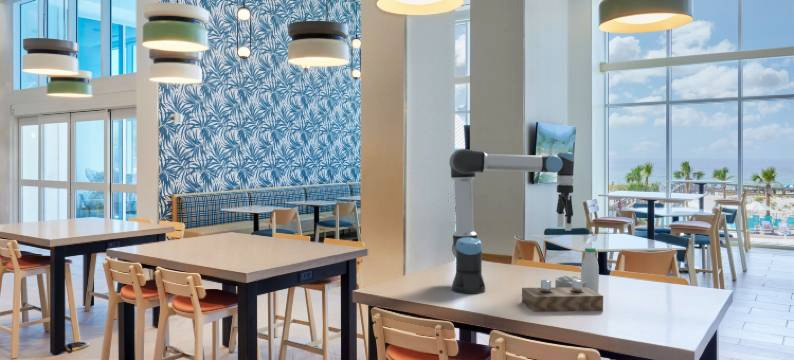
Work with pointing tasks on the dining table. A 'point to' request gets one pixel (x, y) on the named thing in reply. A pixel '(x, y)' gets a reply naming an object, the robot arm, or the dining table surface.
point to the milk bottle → (590, 270)
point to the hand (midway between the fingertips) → (564, 228)
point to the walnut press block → (562, 300)
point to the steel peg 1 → (545, 286)
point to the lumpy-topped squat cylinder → (567, 281)
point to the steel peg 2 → (577, 286)
